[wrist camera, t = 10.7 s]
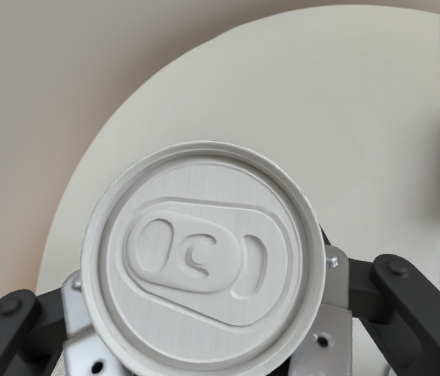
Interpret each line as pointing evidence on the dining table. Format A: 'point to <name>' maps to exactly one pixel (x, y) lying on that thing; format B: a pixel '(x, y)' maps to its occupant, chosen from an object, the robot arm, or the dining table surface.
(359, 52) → the dining table surface
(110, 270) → the beer can
